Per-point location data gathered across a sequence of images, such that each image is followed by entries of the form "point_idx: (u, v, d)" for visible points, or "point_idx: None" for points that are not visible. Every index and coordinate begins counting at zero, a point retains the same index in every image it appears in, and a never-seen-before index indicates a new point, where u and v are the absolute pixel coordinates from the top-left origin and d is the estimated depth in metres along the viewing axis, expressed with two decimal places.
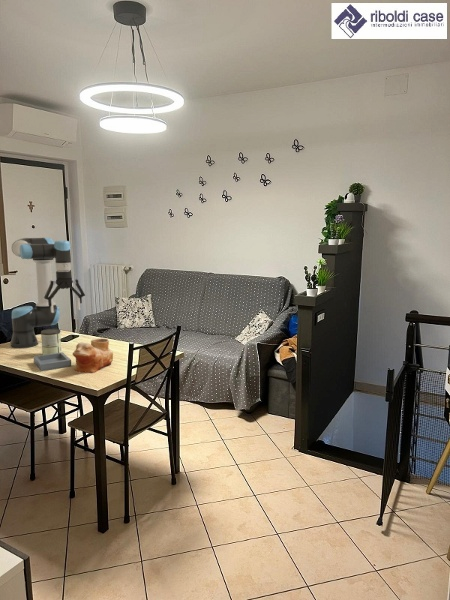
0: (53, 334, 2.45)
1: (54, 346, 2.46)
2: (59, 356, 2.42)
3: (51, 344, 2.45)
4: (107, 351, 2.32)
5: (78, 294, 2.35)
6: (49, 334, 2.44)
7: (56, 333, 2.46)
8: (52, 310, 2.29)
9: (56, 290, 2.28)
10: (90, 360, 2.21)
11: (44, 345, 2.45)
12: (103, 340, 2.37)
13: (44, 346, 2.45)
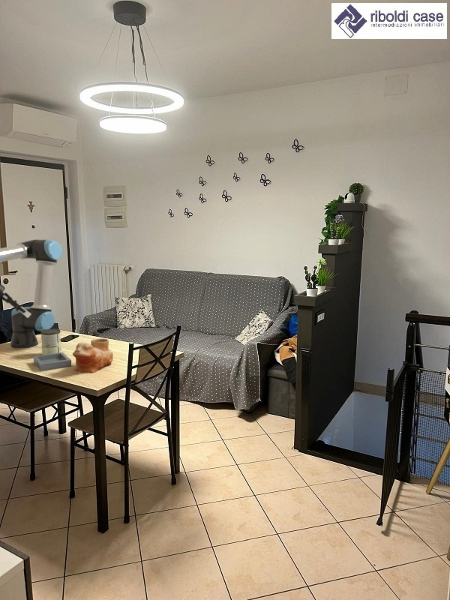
0: (53, 334, 2.45)
1: (54, 346, 2.46)
2: (59, 356, 2.42)
3: (51, 344, 2.45)
4: (107, 351, 2.32)
5: None
6: (49, 334, 2.44)
7: (56, 333, 2.46)
8: None
9: None
10: (90, 360, 2.21)
11: (44, 345, 2.45)
12: (103, 340, 2.37)
13: (44, 346, 2.45)
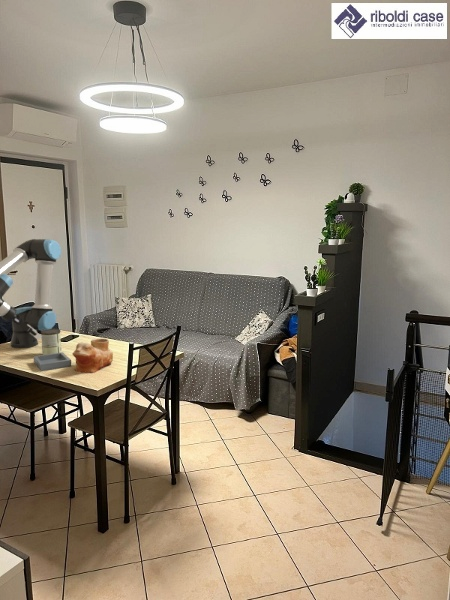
0: (53, 334, 2.45)
1: (54, 346, 2.46)
2: (59, 356, 2.42)
3: (51, 344, 2.45)
4: (107, 351, 2.32)
5: None
6: (49, 334, 2.44)
7: (56, 333, 2.46)
8: None
9: None
10: (90, 360, 2.21)
11: (44, 345, 2.45)
12: (103, 340, 2.37)
13: (44, 346, 2.45)
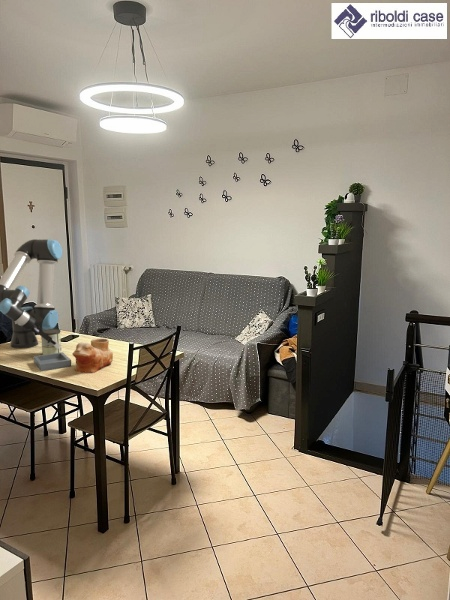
0: (53, 334, 2.45)
1: (54, 346, 2.46)
2: (59, 356, 2.42)
3: (51, 344, 2.45)
4: (107, 351, 2.32)
5: None
6: (49, 334, 2.44)
7: (56, 333, 2.46)
8: None
9: None
10: (90, 360, 2.20)
11: (44, 345, 2.45)
12: (103, 340, 2.37)
13: (44, 346, 2.45)
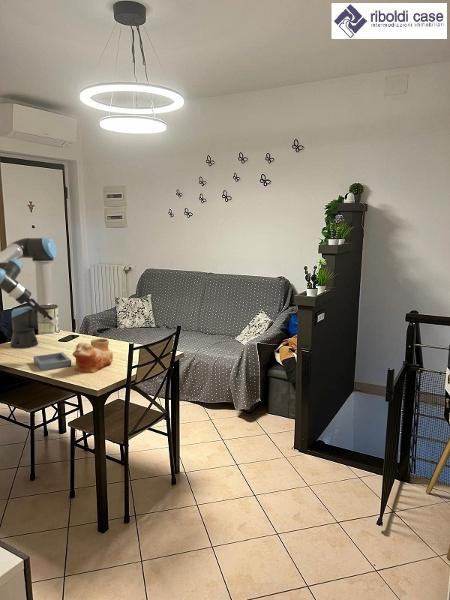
0: (50, 309, 2.28)
1: None
2: (59, 356, 2.42)
3: (47, 320, 2.28)
4: (107, 351, 2.32)
5: None
6: (45, 309, 2.27)
7: (53, 308, 2.29)
8: None
9: None
10: (90, 360, 2.20)
11: (40, 321, 2.28)
12: (103, 340, 2.37)
13: (40, 322, 2.28)
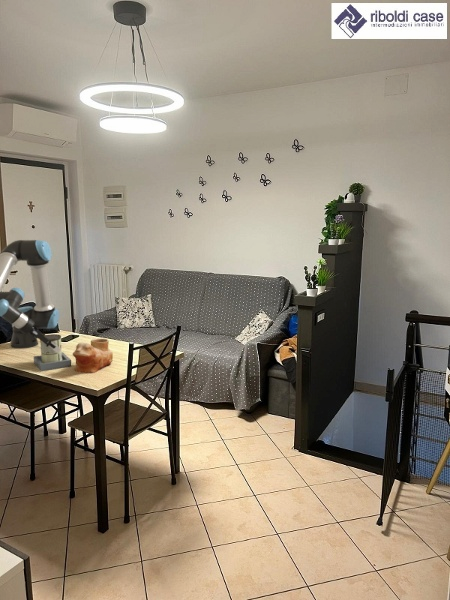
0: (53, 340, 2.28)
1: (54, 353, 2.29)
2: None
3: (51, 351, 2.28)
4: (107, 351, 2.32)
5: None
6: None
7: (56, 339, 2.29)
8: None
9: None
10: (90, 360, 2.20)
11: (43, 352, 2.28)
12: (103, 340, 2.36)
13: (43, 353, 2.28)
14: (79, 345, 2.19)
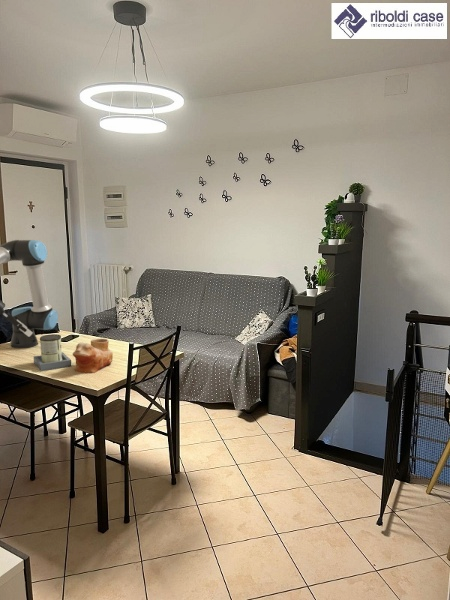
0: (53, 340, 2.28)
1: (54, 353, 2.29)
2: None
3: (51, 351, 2.28)
4: (107, 351, 2.32)
5: None
6: (49, 340, 2.27)
7: (56, 339, 2.29)
8: None
9: None
10: (90, 360, 2.20)
11: (43, 352, 2.28)
12: (103, 340, 2.36)
13: (43, 353, 2.28)
14: (79, 345, 2.19)
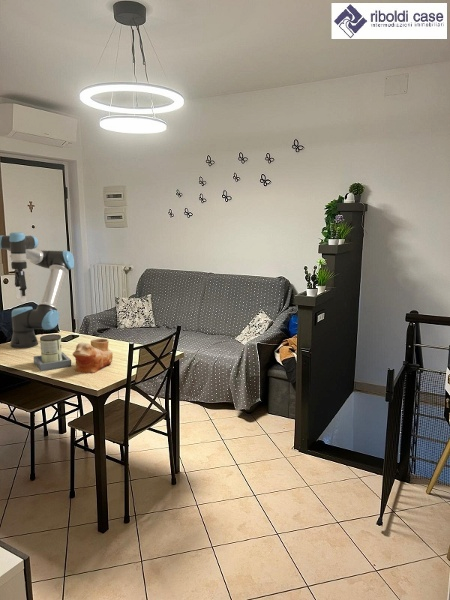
0: (53, 340, 2.28)
1: (54, 353, 2.29)
2: None
3: (51, 351, 2.28)
4: (107, 351, 2.32)
5: (20, 286, 2.36)
6: (49, 340, 2.27)
7: (56, 339, 2.29)
8: None
9: (16, 278, 2.44)
10: (90, 360, 2.20)
11: (43, 352, 2.28)
12: (103, 340, 2.36)
13: (43, 353, 2.28)
14: (79, 345, 2.19)
